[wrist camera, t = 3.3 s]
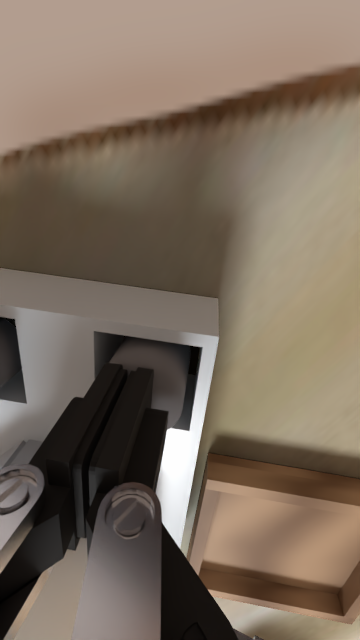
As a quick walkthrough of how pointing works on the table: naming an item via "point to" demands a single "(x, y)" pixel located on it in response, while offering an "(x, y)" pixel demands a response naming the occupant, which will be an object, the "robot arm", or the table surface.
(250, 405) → the table surface
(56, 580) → the cylinder
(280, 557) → the tray
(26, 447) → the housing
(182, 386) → the plunger right
